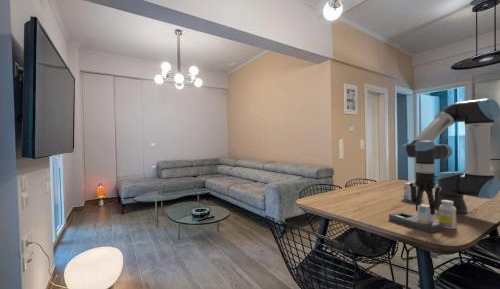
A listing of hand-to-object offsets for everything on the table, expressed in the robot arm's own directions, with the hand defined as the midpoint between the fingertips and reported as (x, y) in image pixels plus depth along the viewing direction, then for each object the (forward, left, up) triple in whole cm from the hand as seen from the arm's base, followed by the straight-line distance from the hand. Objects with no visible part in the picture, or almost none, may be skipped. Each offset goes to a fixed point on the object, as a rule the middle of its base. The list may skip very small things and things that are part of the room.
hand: (425, 219), depth 114 cm
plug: (0, 0, -4) cm, 4 cm away
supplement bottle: (-11, +4, -4) cm, 12 cm away
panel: (0, -5, -4) cm, 6 cm away
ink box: (-49, -33, -4) cm, 59 cm away
